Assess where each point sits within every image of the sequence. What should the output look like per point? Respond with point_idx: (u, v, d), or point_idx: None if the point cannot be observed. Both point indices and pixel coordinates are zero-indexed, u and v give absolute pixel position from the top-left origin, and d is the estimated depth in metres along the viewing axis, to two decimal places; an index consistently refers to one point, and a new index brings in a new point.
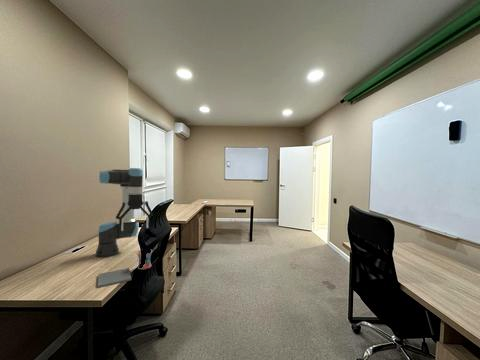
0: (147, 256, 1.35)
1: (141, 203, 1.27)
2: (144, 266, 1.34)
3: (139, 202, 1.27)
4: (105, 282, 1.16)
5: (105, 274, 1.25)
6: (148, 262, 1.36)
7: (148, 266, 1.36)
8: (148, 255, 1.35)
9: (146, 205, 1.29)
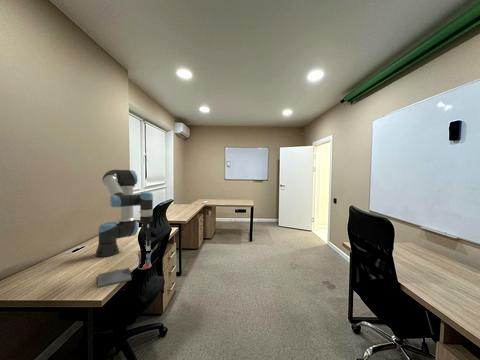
0: (147, 256, 1.35)
1: (145, 225, 1.35)
2: (144, 266, 1.34)
3: (145, 224, 1.36)
4: (105, 282, 1.16)
5: (105, 274, 1.25)
6: (148, 262, 1.36)
7: (148, 266, 1.36)
8: (148, 255, 1.35)
9: (145, 228, 1.33)
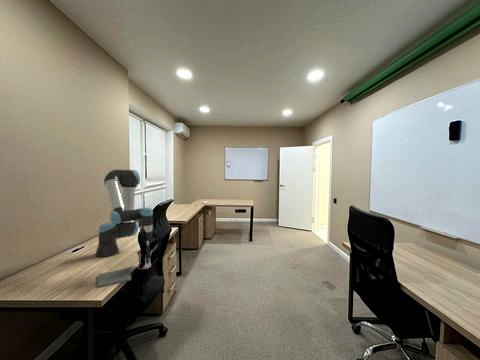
0: None
1: None
2: (144, 266, 1.34)
3: None
4: (105, 282, 1.16)
5: (105, 274, 1.25)
6: None
7: None
8: None
9: None
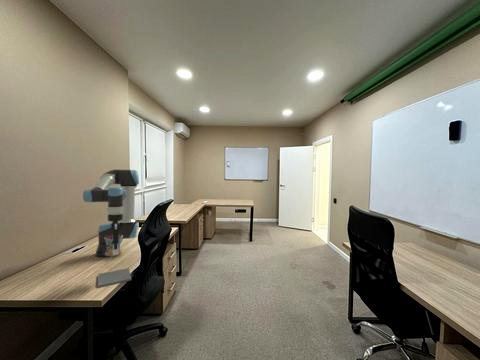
0: None
1: (113, 224, 1.20)
2: (112, 252, 1.19)
3: (113, 223, 1.20)
4: (105, 282, 1.16)
5: (105, 274, 1.25)
6: None
7: None
8: None
9: (113, 229, 1.18)
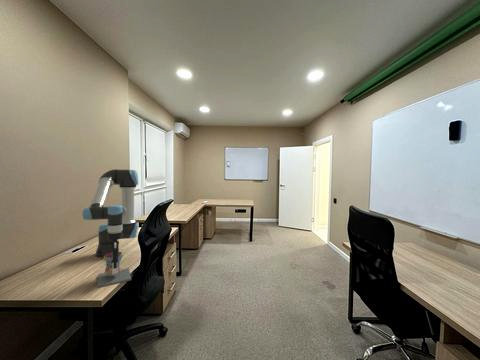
0: None
1: (112, 243, 1.20)
2: (111, 271, 1.19)
3: (112, 241, 1.21)
4: (105, 282, 1.16)
5: (105, 274, 1.25)
6: None
7: None
8: None
9: (112, 248, 1.18)
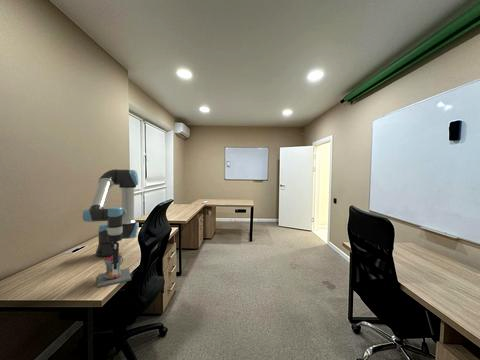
0: None
1: (112, 245, 1.20)
2: (111, 275, 1.19)
3: (112, 243, 1.21)
4: (105, 282, 1.16)
5: None
6: None
7: (116, 275, 1.21)
8: None
9: (112, 249, 1.17)
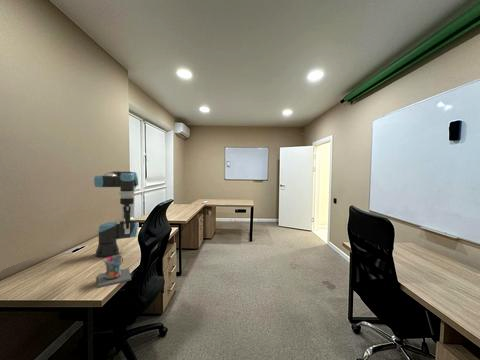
0: (115, 264, 1.20)
1: (125, 207, 1.30)
2: (111, 275, 1.19)
3: (125, 206, 1.31)
4: (105, 282, 1.16)
5: None
6: (116, 270, 1.21)
7: (116, 275, 1.21)
8: (116, 263, 1.20)
9: (125, 210, 1.27)
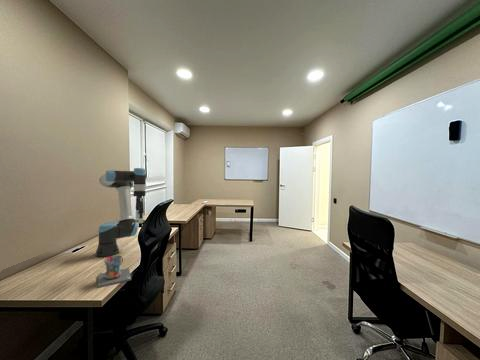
0: (115, 264, 1.20)
1: (138, 199, 1.42)
2: (111, 275, 1.19)
3: (138, 198, 1.43)
4: (105, 282, 1.16)
5: None
6: (116, 270, 1.21)
7: (116, 275, 1.21)
8: (116, 263, 1.20)
9: (138, 201, 1.40)
